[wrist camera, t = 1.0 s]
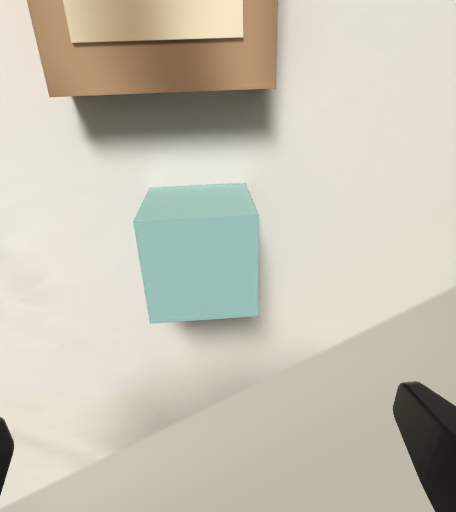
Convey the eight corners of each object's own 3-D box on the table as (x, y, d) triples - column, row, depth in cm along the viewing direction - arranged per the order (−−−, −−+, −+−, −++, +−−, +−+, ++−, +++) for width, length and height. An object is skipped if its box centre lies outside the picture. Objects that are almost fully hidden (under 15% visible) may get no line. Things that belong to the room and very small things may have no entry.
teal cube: (245, 182, 19) (258, 214, 14) (246, 265, 21) (258, 316, 16) (150, 187, 18) (133, 221, 14) (161, 270, 21) (150, 323, 16)
